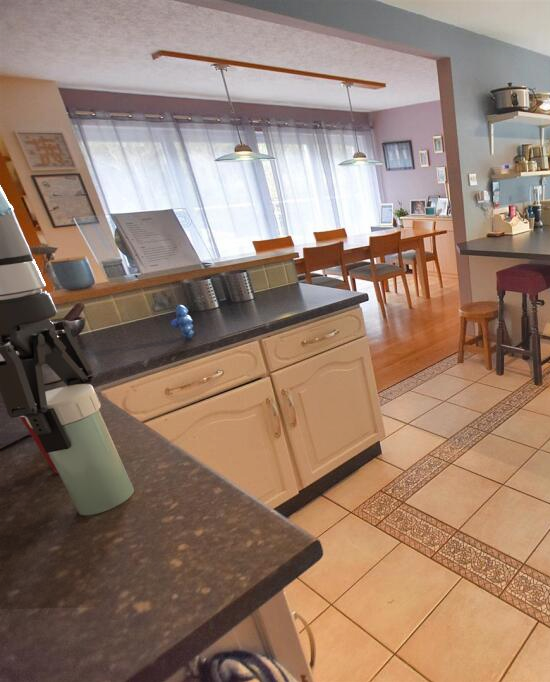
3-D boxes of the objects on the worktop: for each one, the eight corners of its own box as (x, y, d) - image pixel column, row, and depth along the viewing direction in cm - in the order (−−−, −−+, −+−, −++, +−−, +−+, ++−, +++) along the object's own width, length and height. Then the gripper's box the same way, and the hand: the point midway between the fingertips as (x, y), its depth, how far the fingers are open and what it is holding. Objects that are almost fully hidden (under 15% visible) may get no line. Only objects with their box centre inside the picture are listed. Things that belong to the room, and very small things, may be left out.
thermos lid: (107, 398, 73) (99, 379, 71) (91, 419, 66) (82, 398, 65) (43, 412, 69) (33, 392, 68) (19, 435, 62) (8, 413, 61)
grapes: (177, 335, 162) (166, 304, 158) (199, 331, 165) (188, 301, 161) (174, 344, 153) (162, 311, 148) (197, 339, 156) (186, 307, 152)
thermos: (65, 516, 70) (11, 412, 63) (105, 486, 77) (60, 390, 70) (108, 514, 70) (58, 410, 63) (145, 485, 76) (103, 387, 70)
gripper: (27, 284, 69) (84, 410, 77) (-96, 318, 50) (-4, 480, 58) (84, 278, 71) (134, 401, 79) (-13, 308, 53) (65, 466, 60)
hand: (76, 434), depth 69 cm, fingers closed on thermos lid, 8 cm apart
